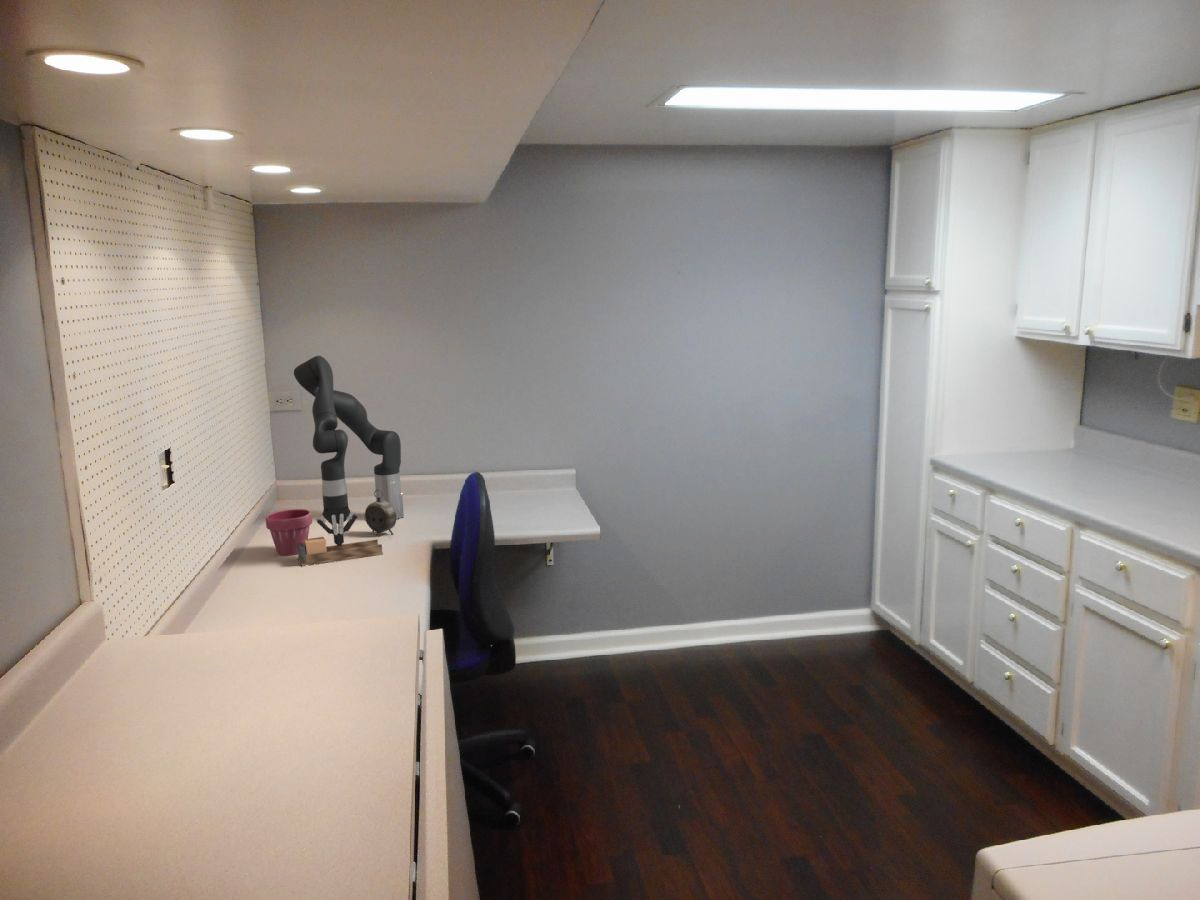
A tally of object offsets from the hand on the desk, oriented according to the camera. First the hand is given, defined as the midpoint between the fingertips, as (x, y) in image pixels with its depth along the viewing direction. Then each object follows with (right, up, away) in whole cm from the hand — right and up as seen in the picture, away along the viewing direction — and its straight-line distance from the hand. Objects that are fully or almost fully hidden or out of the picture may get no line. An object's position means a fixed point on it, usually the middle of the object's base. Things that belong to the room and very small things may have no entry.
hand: (339, 545), depth 275 cm
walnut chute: (0, -4, +1) cm, 4 cm away
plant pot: (-18, -3, +8) cm, 20 cm away
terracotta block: (-6, -5, -3) cm, 8 cm away
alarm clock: (+7, +1, +26) cm, 27 cm away
